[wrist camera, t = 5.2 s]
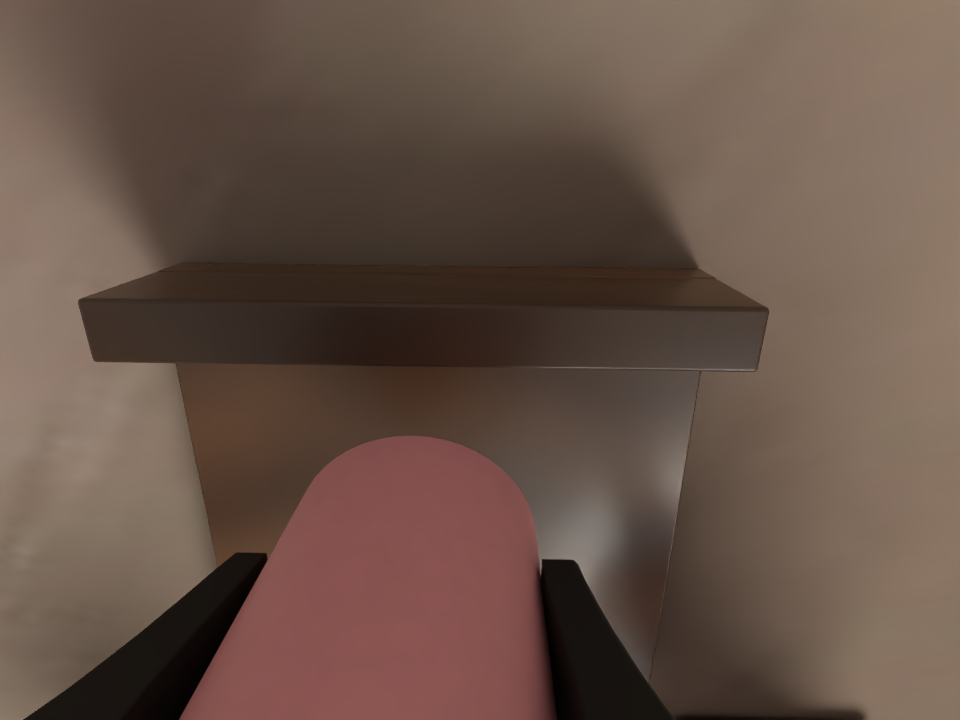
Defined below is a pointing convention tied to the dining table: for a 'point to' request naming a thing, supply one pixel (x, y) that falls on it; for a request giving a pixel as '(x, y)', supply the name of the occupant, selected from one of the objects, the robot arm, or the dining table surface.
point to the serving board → (447, 392)
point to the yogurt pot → (393, 599)
